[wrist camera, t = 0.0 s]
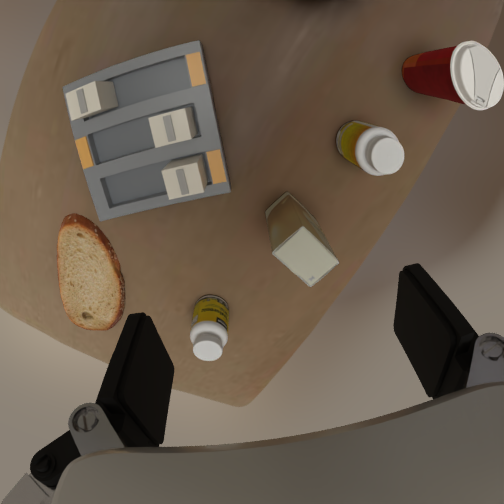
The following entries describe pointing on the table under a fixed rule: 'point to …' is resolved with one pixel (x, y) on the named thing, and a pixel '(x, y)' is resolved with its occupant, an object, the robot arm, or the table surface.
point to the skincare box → (299, 240)
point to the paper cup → (457, 75)
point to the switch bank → (148, 131)
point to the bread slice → (89, 275)
